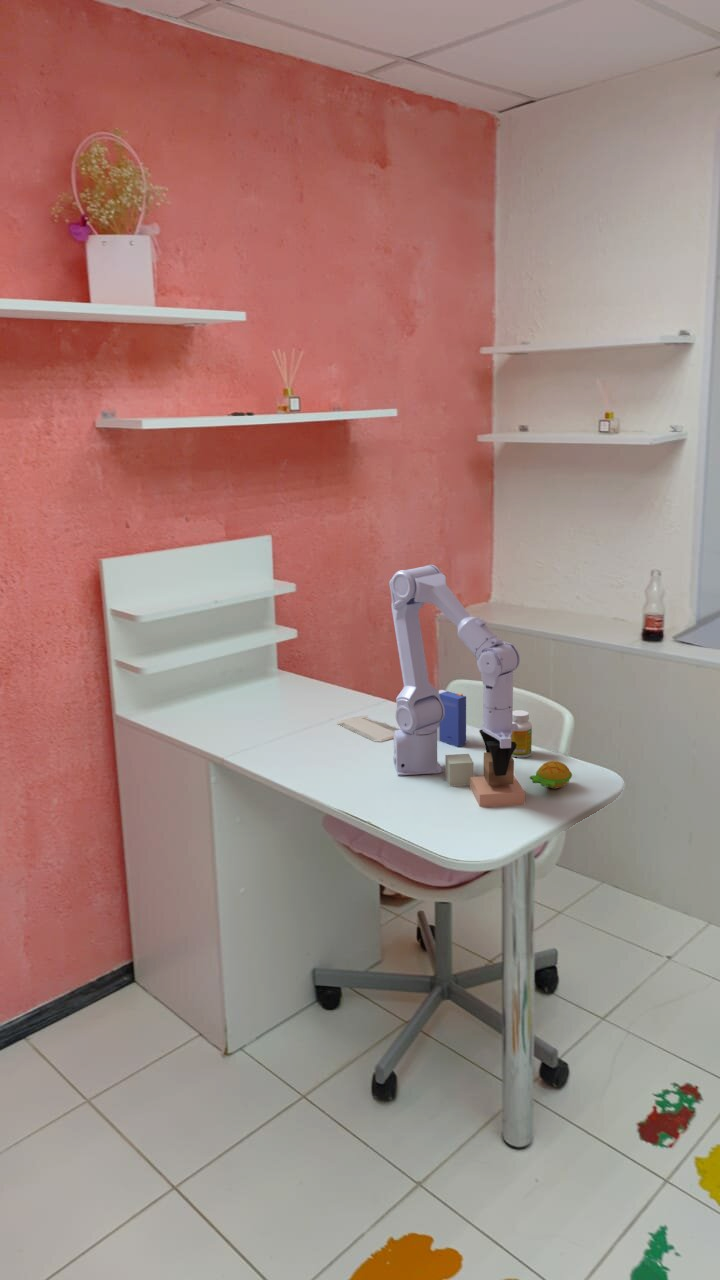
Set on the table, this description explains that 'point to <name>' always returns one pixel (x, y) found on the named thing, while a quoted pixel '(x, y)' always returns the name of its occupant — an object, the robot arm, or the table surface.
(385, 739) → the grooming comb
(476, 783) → the tile block
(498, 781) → the walnut cube
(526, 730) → the supplement bottle
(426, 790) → the table surface
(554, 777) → the orange green rounded dome
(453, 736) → the walkman
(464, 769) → the sage cube
